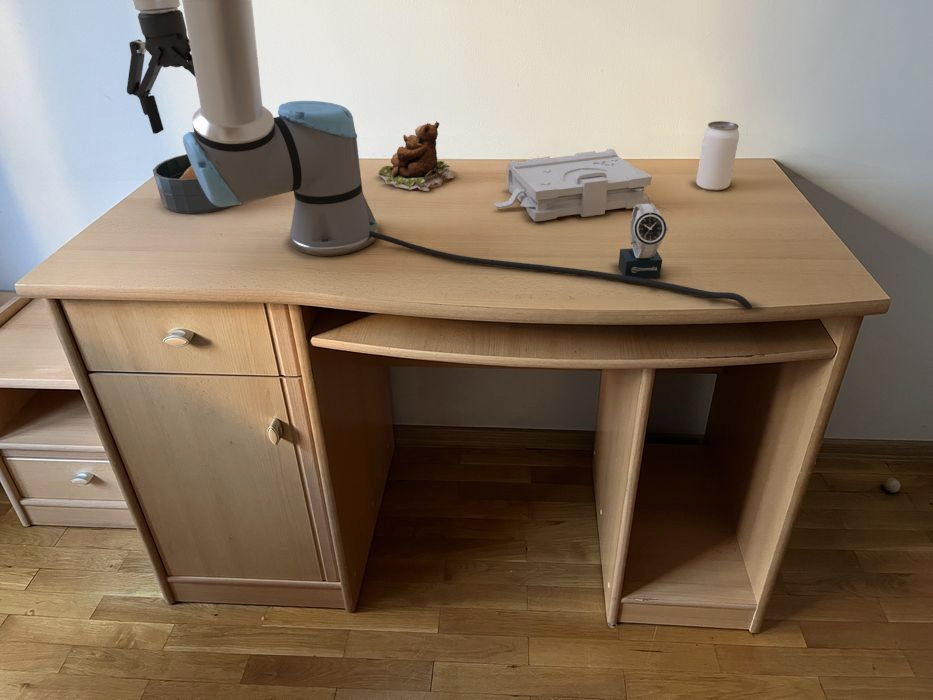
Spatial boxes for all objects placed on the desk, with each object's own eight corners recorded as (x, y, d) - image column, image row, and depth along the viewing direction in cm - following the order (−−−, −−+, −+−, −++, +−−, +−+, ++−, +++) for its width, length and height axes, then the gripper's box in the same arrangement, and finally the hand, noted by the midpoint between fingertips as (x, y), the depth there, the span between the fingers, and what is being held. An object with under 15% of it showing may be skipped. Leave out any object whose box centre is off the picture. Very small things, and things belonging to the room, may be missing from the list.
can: (731, 191, 133) (743, 130, 126) (697, 190, 134) (708, 129, 127) (726, 180, 138) (737, 120, 132) (693, 179, 139) (703, 120, 132)
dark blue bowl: (265, 197, 138) (258, 163, 134) (183, 221, 129) (173, 186, 125) (227, 177, 149) (220, 145, 145) (150, 198, 140) (140, 165, 136)
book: (481, 192, 137) (480, 155, 132) (608, 176, 142) (612, 140, 138) (510, 229, 121) (510, 189, 117) (652, 210, 127) (657, 170, 122)
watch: (627, 285, 103) (635, 218, 97) (615, 261, 110) (622, 197, 104) (663, 283, 103) (674, 216, 97) (649, 260, 110) (658, 195, 104)
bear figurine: (414, 163, 153) (409, 108, 146) (463, 176, 145) (462, 119, 138) (369, 180, 144) (362, 122, 138) (419, 196, 136) (415, 135, 129)
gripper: (234, 5, 121) (259, 126, 132) (106, 9, 124) (142, 126, 136) (215, 11, 114) (243, 137, 126) (82, 15, 118) (121, 137, 130)
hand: (190, 131), depth 131 cm, fingers open, 13 cm apart
